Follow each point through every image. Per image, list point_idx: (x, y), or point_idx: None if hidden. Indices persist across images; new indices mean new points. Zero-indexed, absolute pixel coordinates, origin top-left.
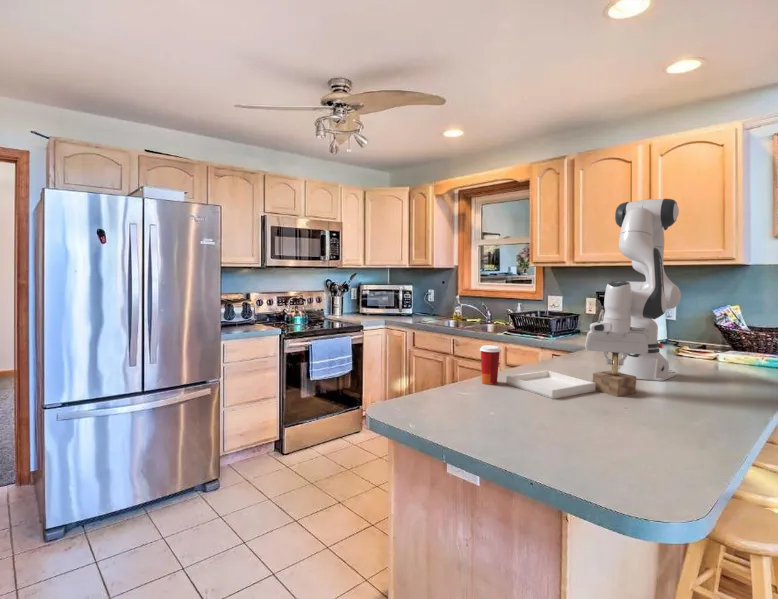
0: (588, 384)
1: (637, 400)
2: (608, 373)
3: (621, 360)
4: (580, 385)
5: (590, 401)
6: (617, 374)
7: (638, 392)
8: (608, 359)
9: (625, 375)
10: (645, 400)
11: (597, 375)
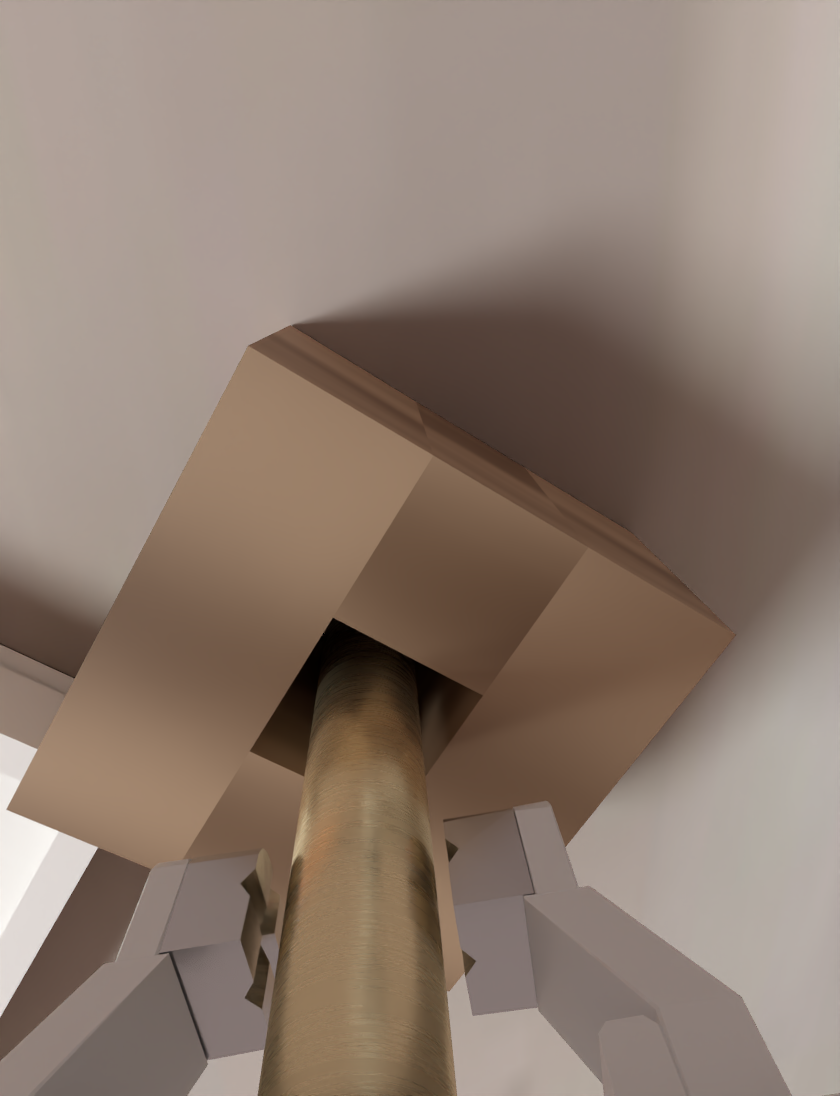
0: (68, 898)
1: (630, 841)
2: (254, 673)
3: (532, 997)
4: (2, 1008)
5: (214, 1089)
6: (420, 730)
7: (673, 477)
8: (191, 1062)
9: (555, 667)
10: (710, 799)
11: (106, 835)
